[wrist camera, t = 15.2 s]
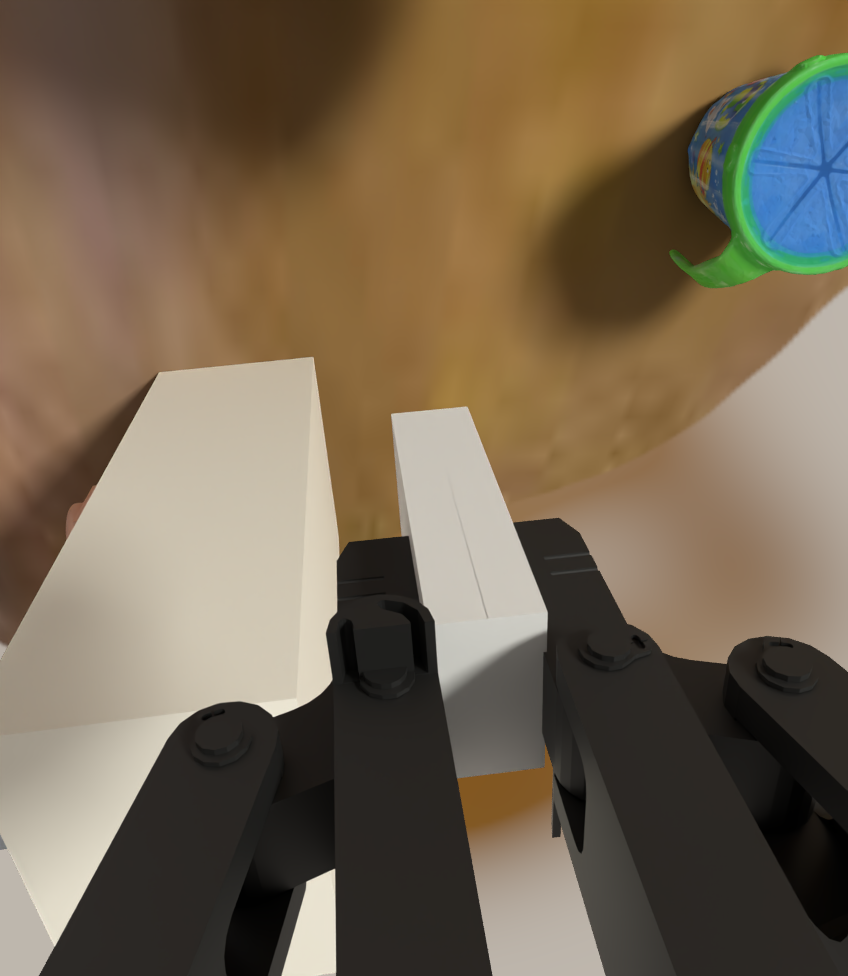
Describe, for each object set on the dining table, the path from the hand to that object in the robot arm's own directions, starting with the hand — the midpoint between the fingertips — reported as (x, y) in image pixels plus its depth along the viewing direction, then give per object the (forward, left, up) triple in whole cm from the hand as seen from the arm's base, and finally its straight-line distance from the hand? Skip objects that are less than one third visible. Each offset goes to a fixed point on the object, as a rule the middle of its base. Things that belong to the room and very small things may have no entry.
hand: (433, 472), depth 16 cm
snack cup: (+16, +17, -37) cm, 43 cm away
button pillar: (+5, -18, -36) cm, 41 cm away
